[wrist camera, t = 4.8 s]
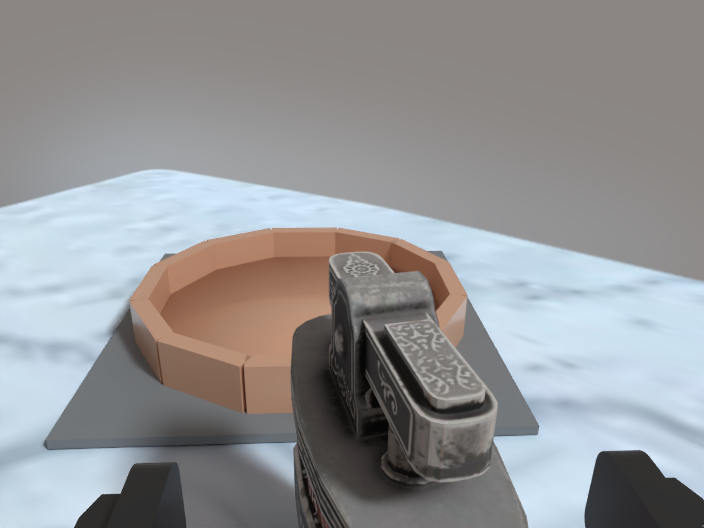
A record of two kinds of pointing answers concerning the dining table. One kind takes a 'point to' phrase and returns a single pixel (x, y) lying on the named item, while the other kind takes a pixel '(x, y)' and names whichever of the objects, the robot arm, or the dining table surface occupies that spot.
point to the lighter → (391, 412)
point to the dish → (260, 308)
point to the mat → (220, 422)
